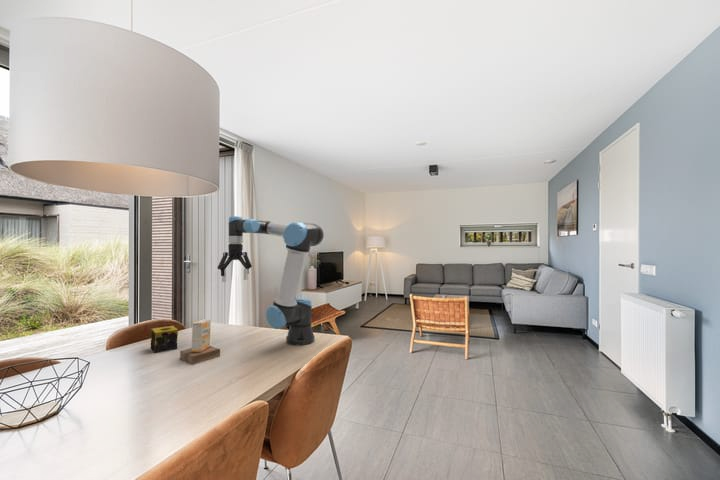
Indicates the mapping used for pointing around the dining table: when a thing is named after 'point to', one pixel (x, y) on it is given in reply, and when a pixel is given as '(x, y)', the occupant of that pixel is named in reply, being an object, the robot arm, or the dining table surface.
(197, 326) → the supplement box
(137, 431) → the dining table surface
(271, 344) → the dining table surface
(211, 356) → the walnut block
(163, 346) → the black and yellow box
